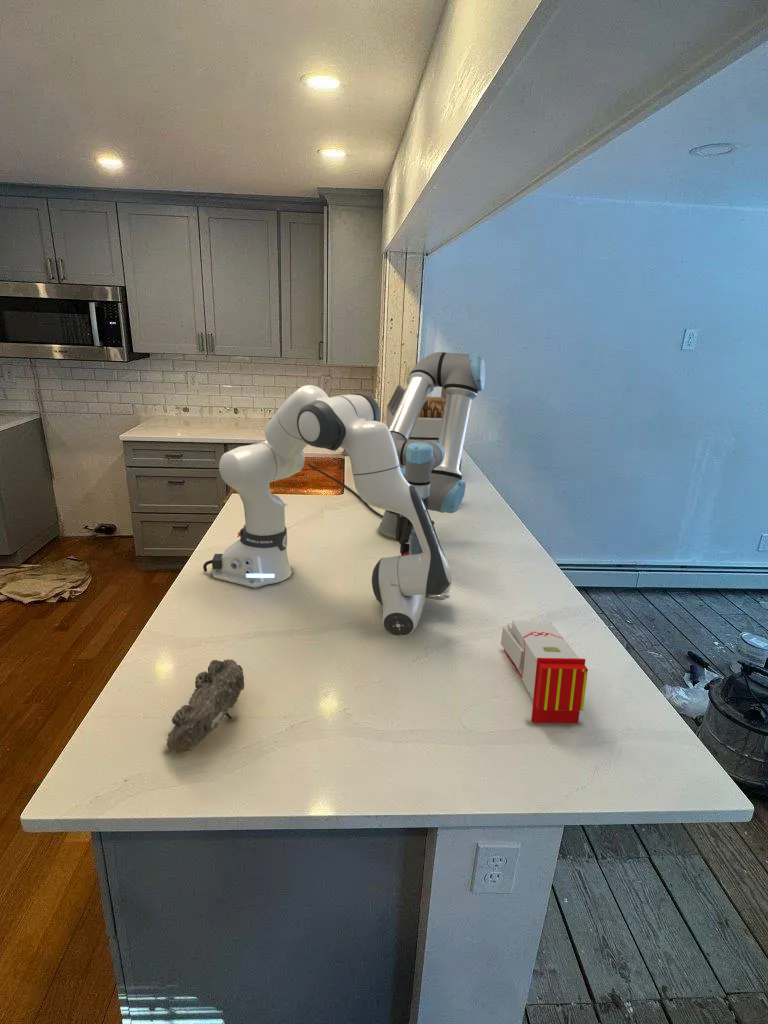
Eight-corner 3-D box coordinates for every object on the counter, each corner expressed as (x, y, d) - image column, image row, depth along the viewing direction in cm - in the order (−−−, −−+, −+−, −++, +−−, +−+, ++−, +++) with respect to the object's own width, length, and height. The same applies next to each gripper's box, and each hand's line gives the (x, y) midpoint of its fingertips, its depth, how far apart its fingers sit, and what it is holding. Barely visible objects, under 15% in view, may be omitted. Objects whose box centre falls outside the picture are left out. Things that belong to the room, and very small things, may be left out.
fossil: (192, 660, 117) (244, 628, 112) (224, 691, 120) (276, 661, 115) (142, 746, 98) (202, 712, 93) (182, 779, 101) (242, 748, 96)
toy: (547, 606, 135) (596, 665, 106) (541, 658, 138) (589, 729, 108) (496, 604, 134) (532, 664, 105) (492, 657, 137) (526, 729, 108)
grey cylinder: (404, 589, 160) (408, 527, 154) (420, 588, 162) (424, 526, 155) (409, 597, 156) (413, 534, 150) (425, 596, 157) (430, 533, 151)
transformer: (382, 463, 289) (386, 382, 275) (445, 464, 293) (451, 384, 279) (390, 482, 257) (394, 392, 243) (460, 483, 261) (468, 394, 247)
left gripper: (450, 588, 142) (454, 565, 155) (370, 577, 145) (381, 556, 158) (448, 610, 144) (453, 586, 157) (370, 599, 147) (380, 576, 160)
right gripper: (385, 490, 170) (382, 560, 178) (430, 506, 158) (424, 581, 166) (403, 486, 175) (399, 554, 183) (448, 501, 163) (441, 574, 171)
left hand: (416, 571), depth 157 cm, fingers closed on grey cylinder, 5 cm apart
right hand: (411, 567), depth 174 cm, fingers closed on lid, 5 cm apart
